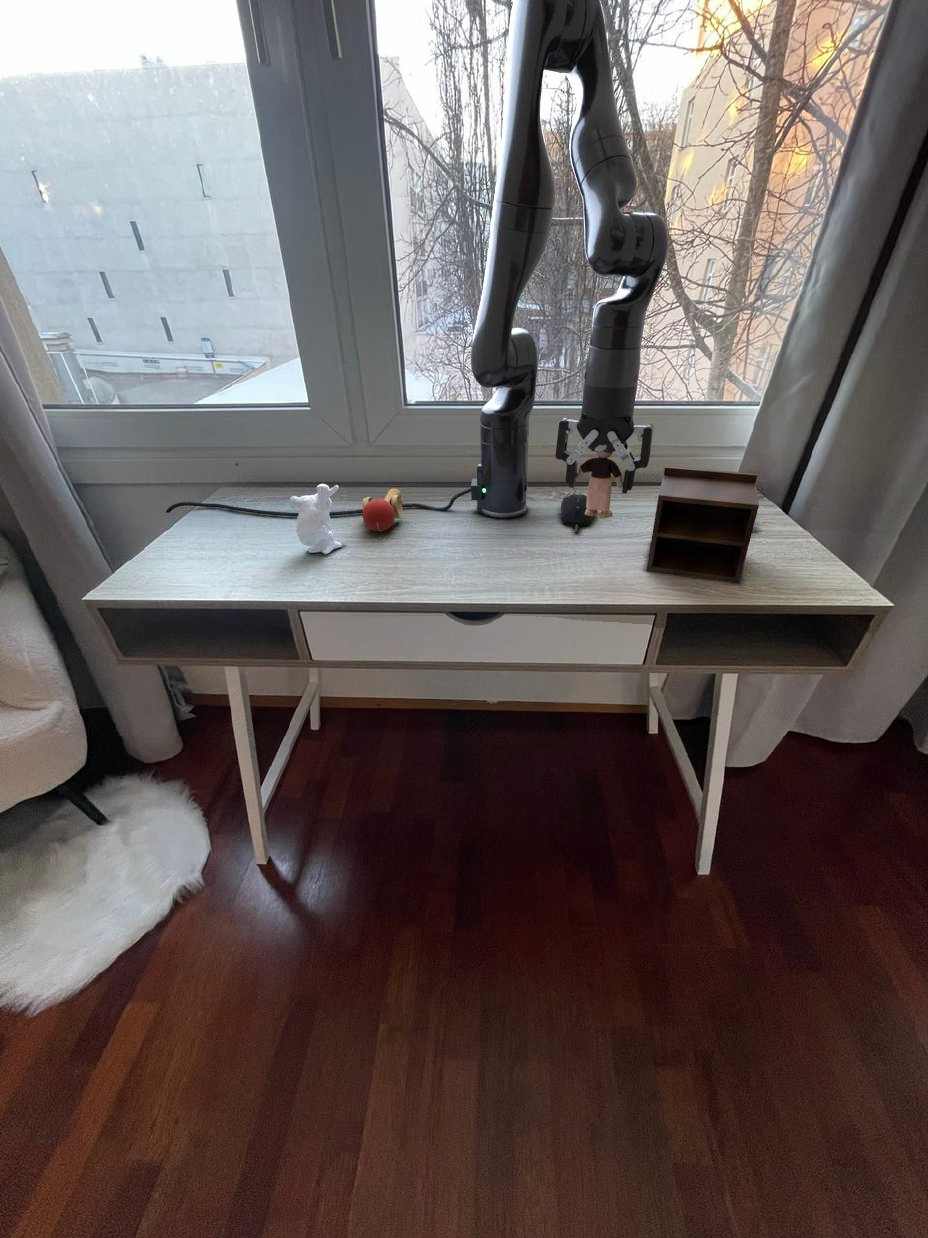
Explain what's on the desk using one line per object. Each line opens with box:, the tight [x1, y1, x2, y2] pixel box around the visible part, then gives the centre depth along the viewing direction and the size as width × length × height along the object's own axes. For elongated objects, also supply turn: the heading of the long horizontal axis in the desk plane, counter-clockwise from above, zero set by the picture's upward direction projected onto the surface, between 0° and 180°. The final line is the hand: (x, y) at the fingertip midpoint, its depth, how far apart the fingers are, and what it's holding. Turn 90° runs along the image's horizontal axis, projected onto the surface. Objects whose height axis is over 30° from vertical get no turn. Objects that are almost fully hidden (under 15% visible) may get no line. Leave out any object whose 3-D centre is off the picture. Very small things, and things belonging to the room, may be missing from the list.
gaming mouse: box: [560, 493, 593, 535], centre depth 114 cm, size 6×15×4 cm, turn 171°
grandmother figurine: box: [576, 445, 624, 519], centre depth 93 cm, size 8×4×13 cm, turn 70°
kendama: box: [362, 487, 404, 533], centre depth 116 cm, size 8×6×18 cm
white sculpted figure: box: [289, 483, 343, 555], centre depth 102 cm, size 8×7×12 cm
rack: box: [646, 465, 760, 584], centre depth 95 cm, size 14×11×14 cm
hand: (598, 489), depth 94 cm, fingers closed on grandmother figurine, 8 cm apart
